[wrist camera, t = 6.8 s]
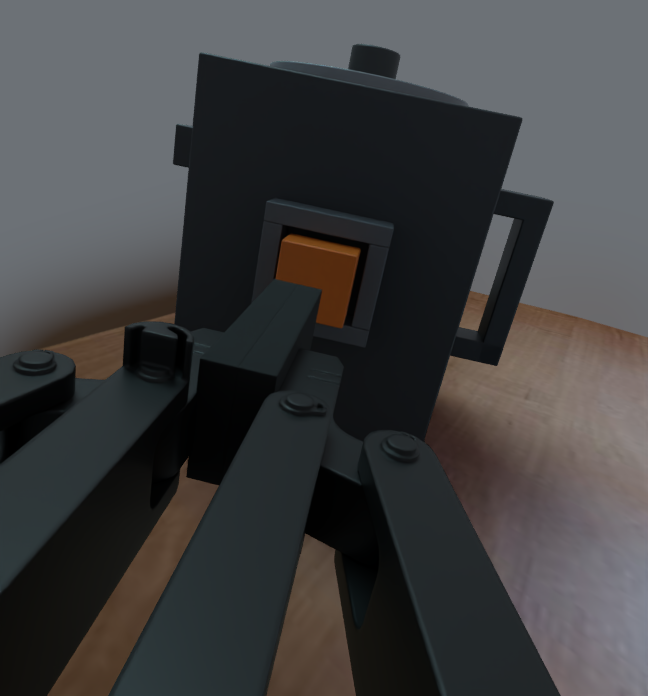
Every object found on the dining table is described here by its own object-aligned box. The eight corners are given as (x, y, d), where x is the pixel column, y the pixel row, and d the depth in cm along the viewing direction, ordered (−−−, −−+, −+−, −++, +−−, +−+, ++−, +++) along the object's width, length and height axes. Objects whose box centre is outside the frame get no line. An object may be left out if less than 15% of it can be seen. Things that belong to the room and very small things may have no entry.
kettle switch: (269, 312, 21) (281, 239, 20) (278, 300, 23) (290, 232, 22) (342, 329, 21) (358, 256, 20) (346, 316, 23) (361, 248, 22)
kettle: (96, 430, 26) (113, -41, 19) (200, 332, 40) (233, 40, 33) (489, 525, 25) (667, 68, 18) (455, 390, 39) (546, 103, 32)
